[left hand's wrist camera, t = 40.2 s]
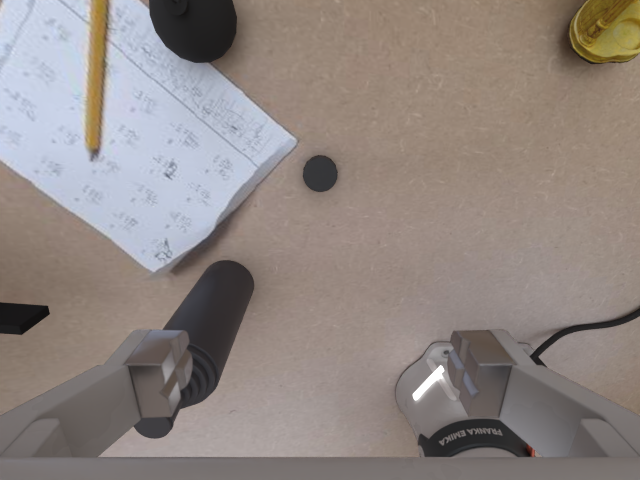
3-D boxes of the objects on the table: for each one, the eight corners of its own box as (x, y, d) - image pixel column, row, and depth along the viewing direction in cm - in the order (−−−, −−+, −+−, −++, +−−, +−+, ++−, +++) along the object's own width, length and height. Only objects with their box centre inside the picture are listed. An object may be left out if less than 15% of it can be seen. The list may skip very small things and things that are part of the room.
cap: (305, 153, 41) (304, 155, 39) (338, 156, 41) (339, 159, 39) (302, 186, 43) (301, 190, 41) (334, 189, 43) (335, 193, 41)
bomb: (160, 44, 37) (91, 14, 26) (185, -34, 35) (120, -105, 23) (227, 81, 38) (188, 67, 27) (255, 8, 36) (226, -41, 25)
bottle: (249, 258, 46) (186, 385, 24) (257, 303, 49) (207, 455, 27) (197, 262, 46) (90, 393, 25) (208, 307, 49) (120, 461, 27)
